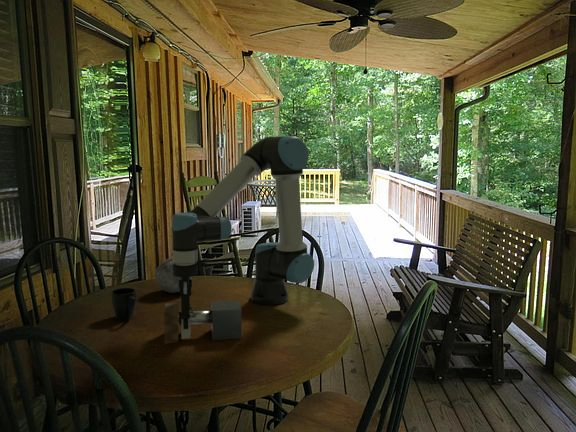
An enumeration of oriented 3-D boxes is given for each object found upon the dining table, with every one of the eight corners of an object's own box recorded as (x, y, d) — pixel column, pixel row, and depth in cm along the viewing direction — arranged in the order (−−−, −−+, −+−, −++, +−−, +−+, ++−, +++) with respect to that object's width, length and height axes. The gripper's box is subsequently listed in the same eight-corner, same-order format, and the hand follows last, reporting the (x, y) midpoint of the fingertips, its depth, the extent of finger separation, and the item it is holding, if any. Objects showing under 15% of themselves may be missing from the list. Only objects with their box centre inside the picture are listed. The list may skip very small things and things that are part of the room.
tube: (217, 320, 146) (217, 306, 145) (218, 326, 141) (218, 311, 140) (173, 323, 143) (173, 309, 142) (172, 329, 138) (172, 314, 137)
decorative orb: (181, 285, 198) (181, 252, 196) (198, 292, 187) (198, 257, 185) (150, 291, 188) (149, 256, 186) (166, 300, 177) (165, 263, 175)
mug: (121, 326, 149) (120, 298, 148) (108, 316, 158) (107, 290, 157) (144, 320, 155) (144, 294, 153) (131, 311, 164) (130, 286, 162)
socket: (178, 331, 146) (178, 302, 144) (178, 342, 137) (177, 312, 136) (166, 332, 145) (165, 303, 143) (164, 343, 136) (163, 313, 135)
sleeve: (238, 327, 150) (238, 300, 148) (241, 338, 141) (241, 309, 140) (211, 329, 148) (211, 301, 146) (212, 340, 139) (212, 310, 138)
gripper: (173, 256, 147) (175, 324, 150) (171, 270, 129) (172, 347, 132) (197, 255, 148) (197, 322, 151) (197, 269, 130) (198, 345, 133)
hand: (186, 333), depth 142 cm, fingers open, 6 cm apart
